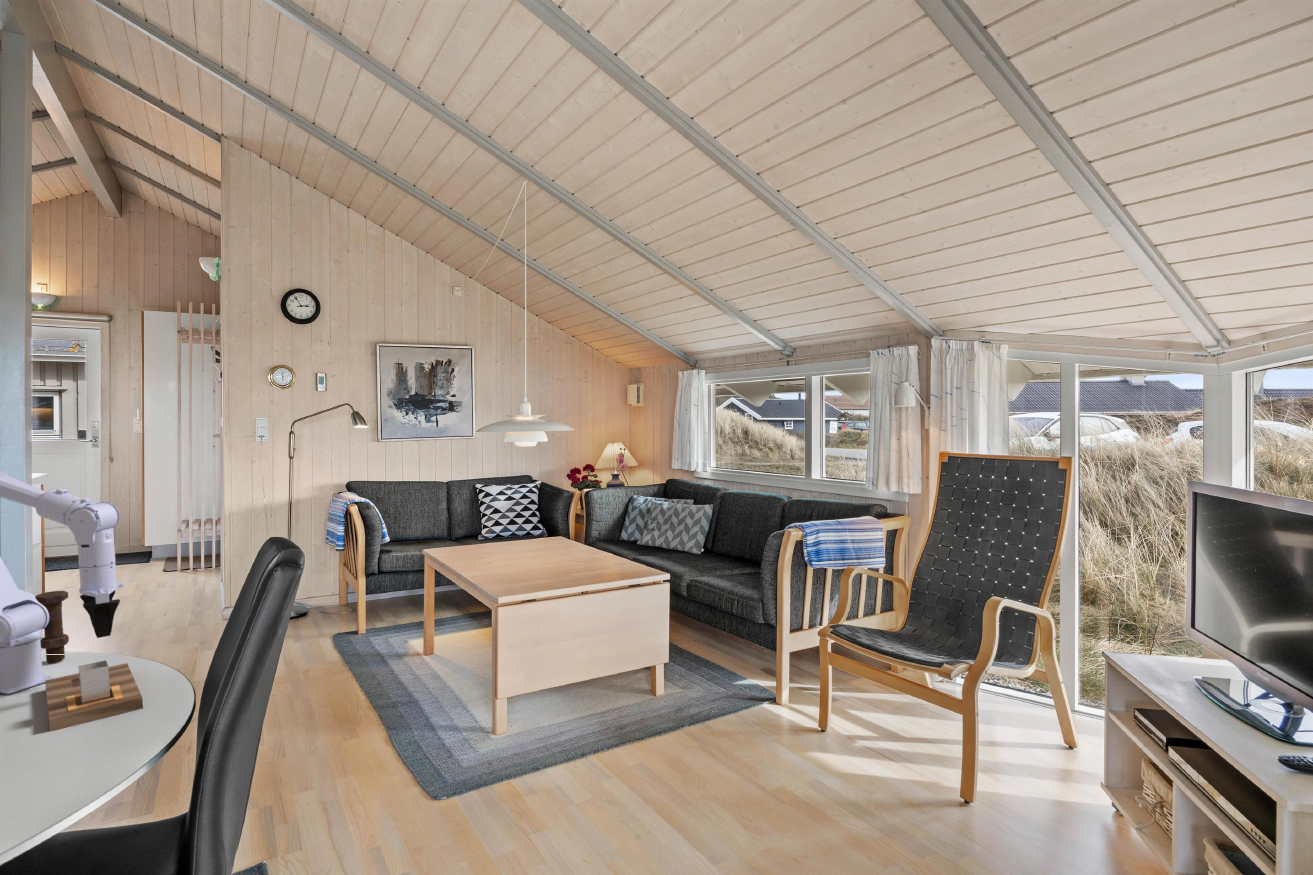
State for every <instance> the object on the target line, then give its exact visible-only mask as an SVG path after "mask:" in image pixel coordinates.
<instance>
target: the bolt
mask: <svg viewBox="0 0 1313 875" xmlns="http://www.w3.org/2000/svg"><path fill="white" fill-rule="evenodd" d="M34 596H35V598H36V600H37V601H38V602H39V603H41V604H42V605H43V606H45V607H46V609H47V610H48V613H49V622H48V624H47V626H46V627H45V628H44V629H43V632H44V633H43V634H44V637H43V638H40V642H41V649H45V660H46V661H45V662H46V663H47V664H52V663H53V664H57V663H60V662H62V661H64V660H65V658H66V652H65V651H66V650H65V645H67V644H68V643H69V640H70V638H69V634H66V633H64V627H63V626H64V625H63V612H62V611H63V602H64V601H65V600H67V599H68V598H69V592H68V591H65V590H54V591H45V592H42V593H39V594H37V595H34ZM46 654H65V655H46Z"/></svg>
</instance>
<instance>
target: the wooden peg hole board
mask: <svg viewBox="0 0 1313 875" xmlns="http://www.w3.org/2000/svg"><path fill="white" fill-rule="evenodd" d="M108 671H109V686H110V698H108V699H104V700H100V701H96V702H91V703H87V704H83V705H81V697H80V682H79V672H78V673H73V674H70V675H69V674H68V675H65V676H64V675H63V676H58V677H55V678H54V679H49V680H45V682H44V683H45V694H46V695H45V696H46V704H47V714H48V724H49V725H48V726H49V732H52V731H56V730H60V729H64V728H68V727H69V728H70V727H72V726H76V725H77V726H78V725H81V724H85V723H88V722H93V721H97V720H101V719H105V718H110V717H112V716H117V715H120V714H124V713H128V712H133V711H137V710H142V709H144V702H143V700H144V699H143V695H142V694H141V692H140V689H139V686H138V684H137V682H136V680H135V678H134V675H133V673H132V671H131V668H130V667H129V664H128V662H126V663H121V664H117V665H112V666H108Z"/></svg>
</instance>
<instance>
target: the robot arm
mask: <svg viewBox="0 0 1313 875" xmlns="http://www.w3.org/2000/svg"><path fill="white" fill-rule="evenodd" d="M0 498H1V499H4V500H8V501H11V502H14V503H19V504H21V505H24V506H29V507H32V508H35V512H36V514H37V515H38V516H39V517H41V518H45V519H47V520H49V521H53V522H56V523H59V524H61V525H64V526H67V527H68V529H69V531H71V532H72V534H73V536H74V542H76V544H77V558H78V569H79V570H78V571H79V585H80V586H79V591H78V592H79V594H81V595H79V597H80V599H81V601H82V602H83V603H82V606H83V607H82V608H84V610H85V611H86V613H87V614H88V615H89V619H90V623H91V625H92V627H93V631H94V634H95V637H96V638H97V639H99V638H105V637H110V636H111V635H112V630H113V625H114V618H115V613H116V611H117V609H118V606H119V605H120V603H121V600H120V598H117V599H113V598H114V596H115V594H116V590H117V589H119V588H124V587H125V582H124V581H120V582H117V581H118V580H117V567H116V548H115V535H114V534H115V532H114V528H116V527H117V526H118V524H119V523H120V519H121V515H120V510H119V509H118V508H117V506H115V505H114V504H113V503H110V502H109V501H106V500H105V501H99V502H96V503H95V502H93V501H92V499H91V498H89V497H84V498H83V497H79V496H77V495H74V494H71V493H69V489H66V488H57V489H50V490H48V491H45V490H42V489H41V488H37V487H35V486H33V485H31V484H29V483H26V482H23V481H21V480H18V479H17V478H14V477H12V476H9V475H8V473H7V472H6V471H1V470H0ZM35 596H36V595H35V594H33V593H31V592H28V591H25V590H22V589H20V588H18V586H17V583H16V582H15V581H14V579H13V577H12V575H11V573H10V572H9V569H8V568H7V566H6V564H5V563H4V561H3V558H2V557H1V556H0V694H5V695H10V694H15V693H16V692H20V691H23V690H26V689H28V688H31V687H35V686H37V685H41V684H44V683H45V680H49V679H54V676H51V675H44V673H43V672H44V671H43V660H42V659H43V658H42V648H41V642H40V640H41V636H43V634H44V633H43V632H44V630H45V629H44V628H45V627H46V626H47V624H48V622H49V613H48V610H47V609H46V607H45V606H43V605H42V604H41V603H39V602H38V601H37V600H36V598H35Z"/></svg>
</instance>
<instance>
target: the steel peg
mask: <svg viewBox="0 0 1313 875" xmlns="http://www.w3.org/2000/svg"><path fill="white" fill-rule="evenodd" d="M77 667H78V673H79V682H80V697H81V705H83V704H87V703H91V702H96V701H100V700H104V699H108V698H110V686H109V671H108V667H109V664H108V662H107V660H105V659H104V660H100V661H96V662H92V663H87V664H82V665H78V666H77Z"/></svg>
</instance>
